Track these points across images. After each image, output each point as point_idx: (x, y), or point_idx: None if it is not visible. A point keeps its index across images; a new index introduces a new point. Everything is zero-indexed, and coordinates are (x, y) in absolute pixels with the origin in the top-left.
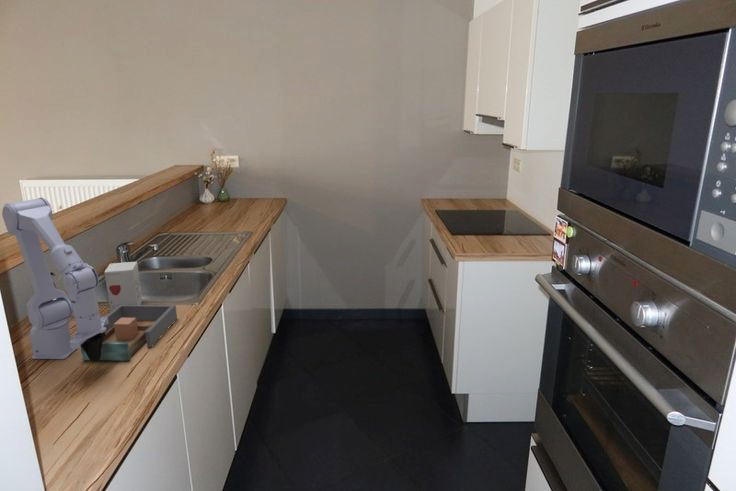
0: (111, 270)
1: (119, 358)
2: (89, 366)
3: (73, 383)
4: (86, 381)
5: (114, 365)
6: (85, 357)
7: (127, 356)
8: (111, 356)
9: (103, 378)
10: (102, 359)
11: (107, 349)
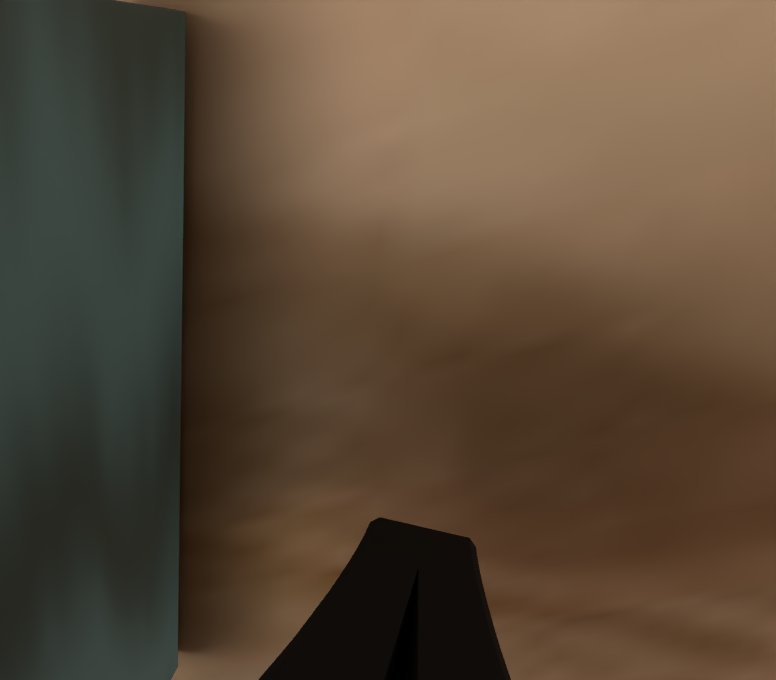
0: None
1: (163, 207)
2: (320, 569)
3: (764, 651)
4: (768, 519)
5: (320, 247)
6: (161, 670)
7: (138, 27)
8: (145, 356)
9: (758, 300)
10: (173, 466)
11: (60, 483)
